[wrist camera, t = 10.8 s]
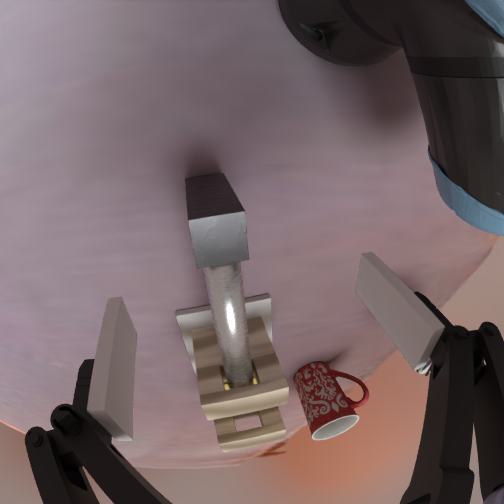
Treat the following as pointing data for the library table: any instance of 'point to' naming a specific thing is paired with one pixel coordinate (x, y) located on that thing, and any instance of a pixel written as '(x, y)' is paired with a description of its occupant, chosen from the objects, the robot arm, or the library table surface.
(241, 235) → the shaft
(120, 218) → the library table surface
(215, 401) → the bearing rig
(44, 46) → the library table surface
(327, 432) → the mug
